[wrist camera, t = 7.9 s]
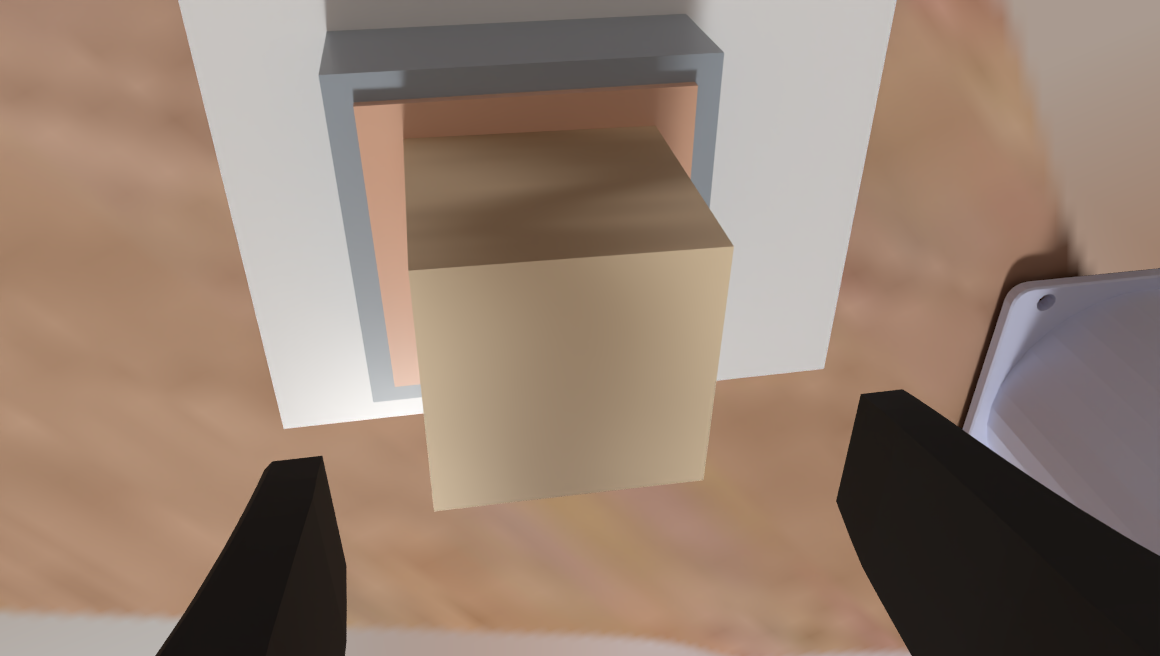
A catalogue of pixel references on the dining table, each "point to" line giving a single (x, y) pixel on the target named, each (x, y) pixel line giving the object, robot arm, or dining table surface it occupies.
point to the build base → (515, 105)
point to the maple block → (562, 312)
